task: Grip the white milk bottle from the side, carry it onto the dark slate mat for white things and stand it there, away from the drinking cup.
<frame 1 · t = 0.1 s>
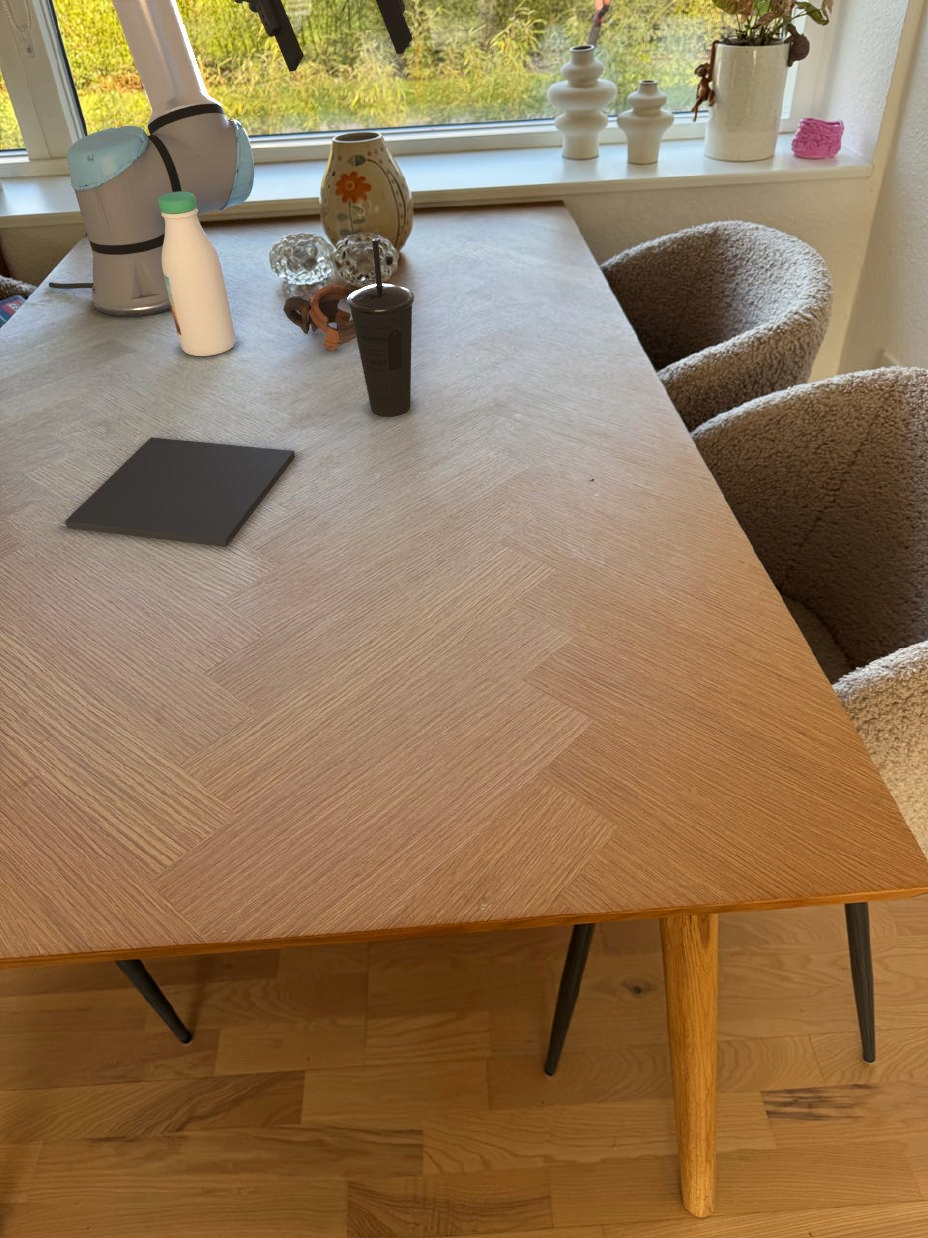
hand: (352, 55, 98), 36 cm above the table, tool tilted 35°, fingers open, 13 cm apart
slate mat: (186, 490, 100), on the table
drinking cup: (391, 408, 113), on the table
milk bottle: (209, 347, 130), on the table
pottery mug: (330, 339, 131), on the table
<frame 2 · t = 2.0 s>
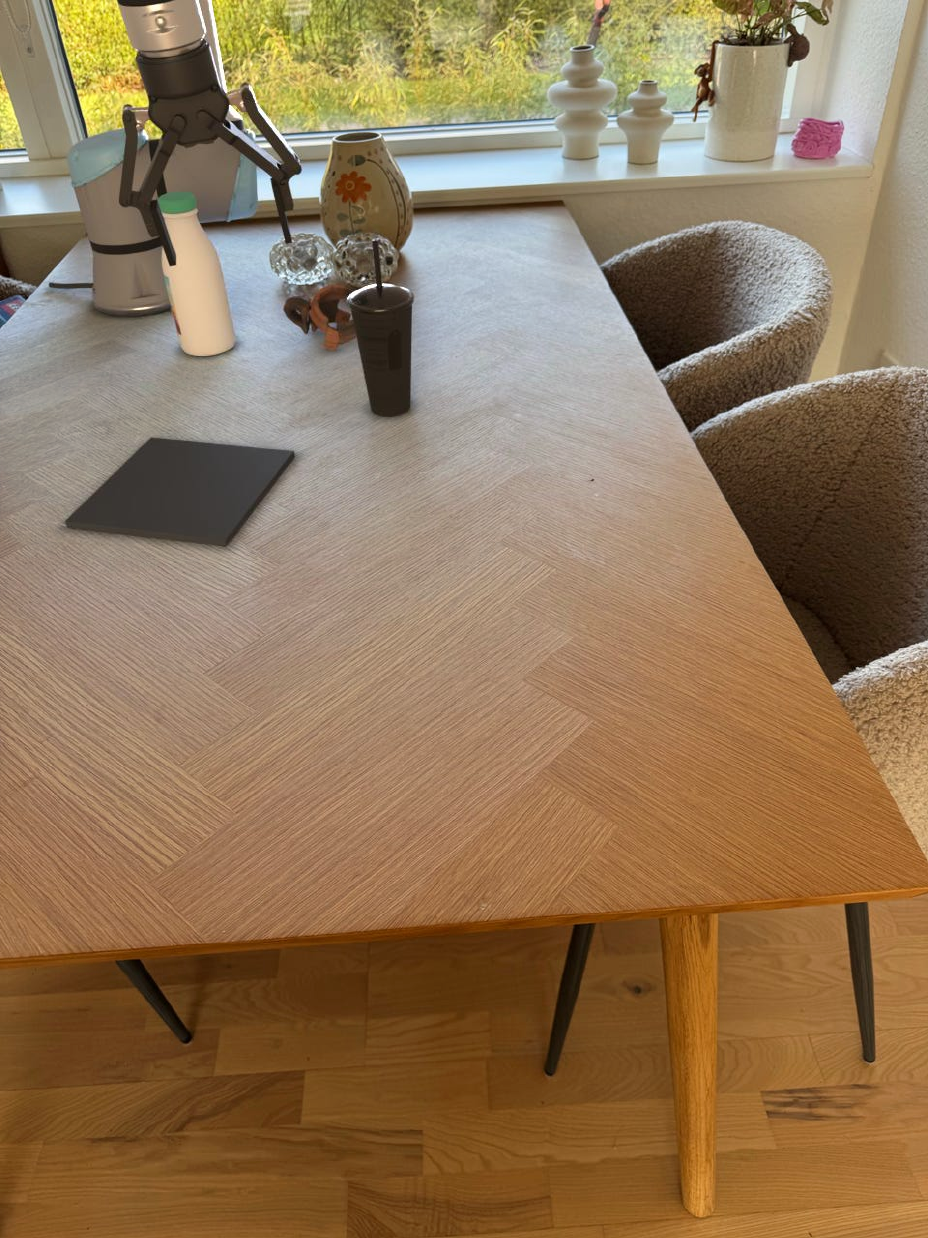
hand: (230, 249, 108), 17 cm above the table, tool pointing down, fingers open, 13 cm apart
nothing on the table moved.
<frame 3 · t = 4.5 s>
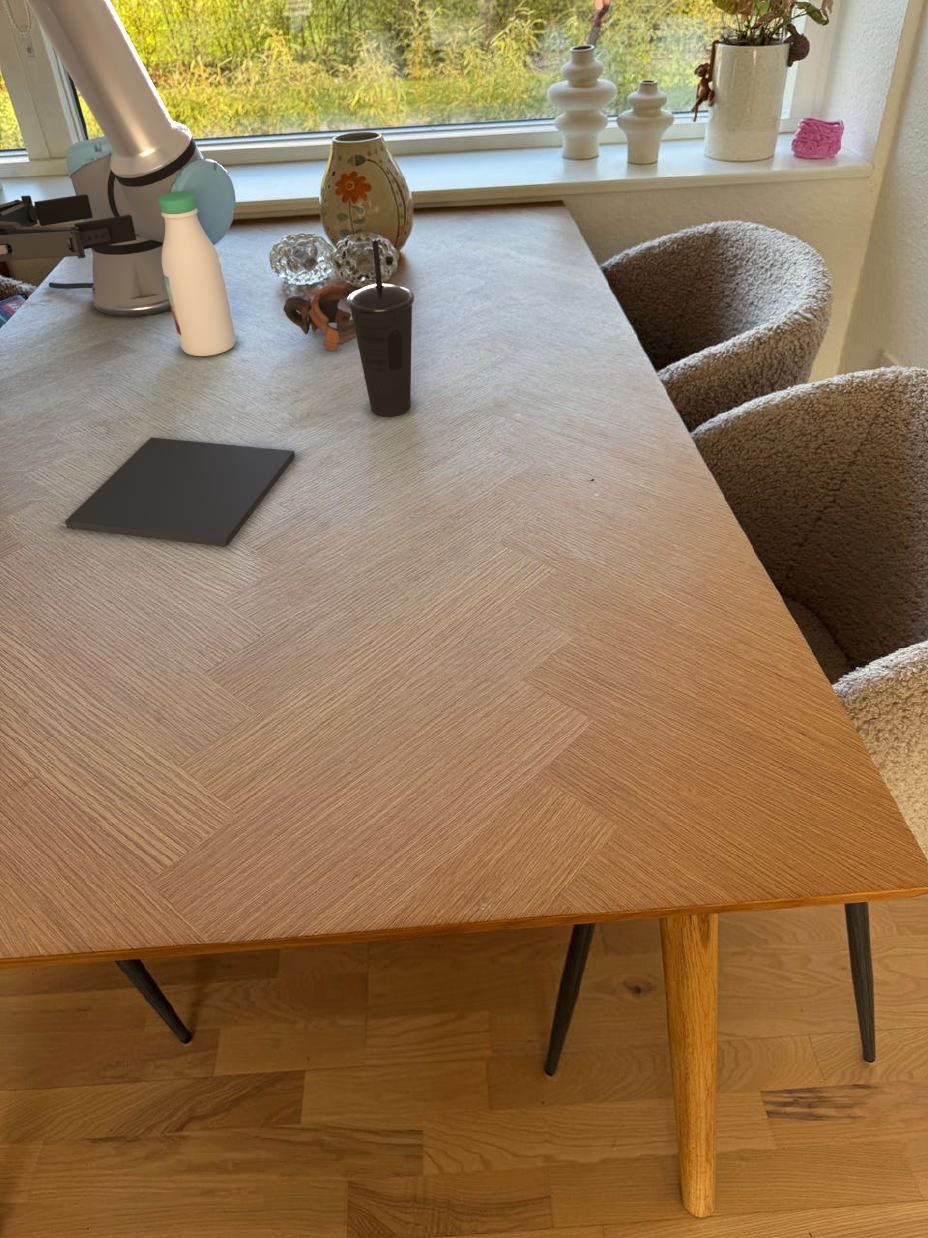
hand: (110, 216, 114), 19 cm above the table, tool horizontal, fingers open, 13 cm apart
nothing on the table moved.
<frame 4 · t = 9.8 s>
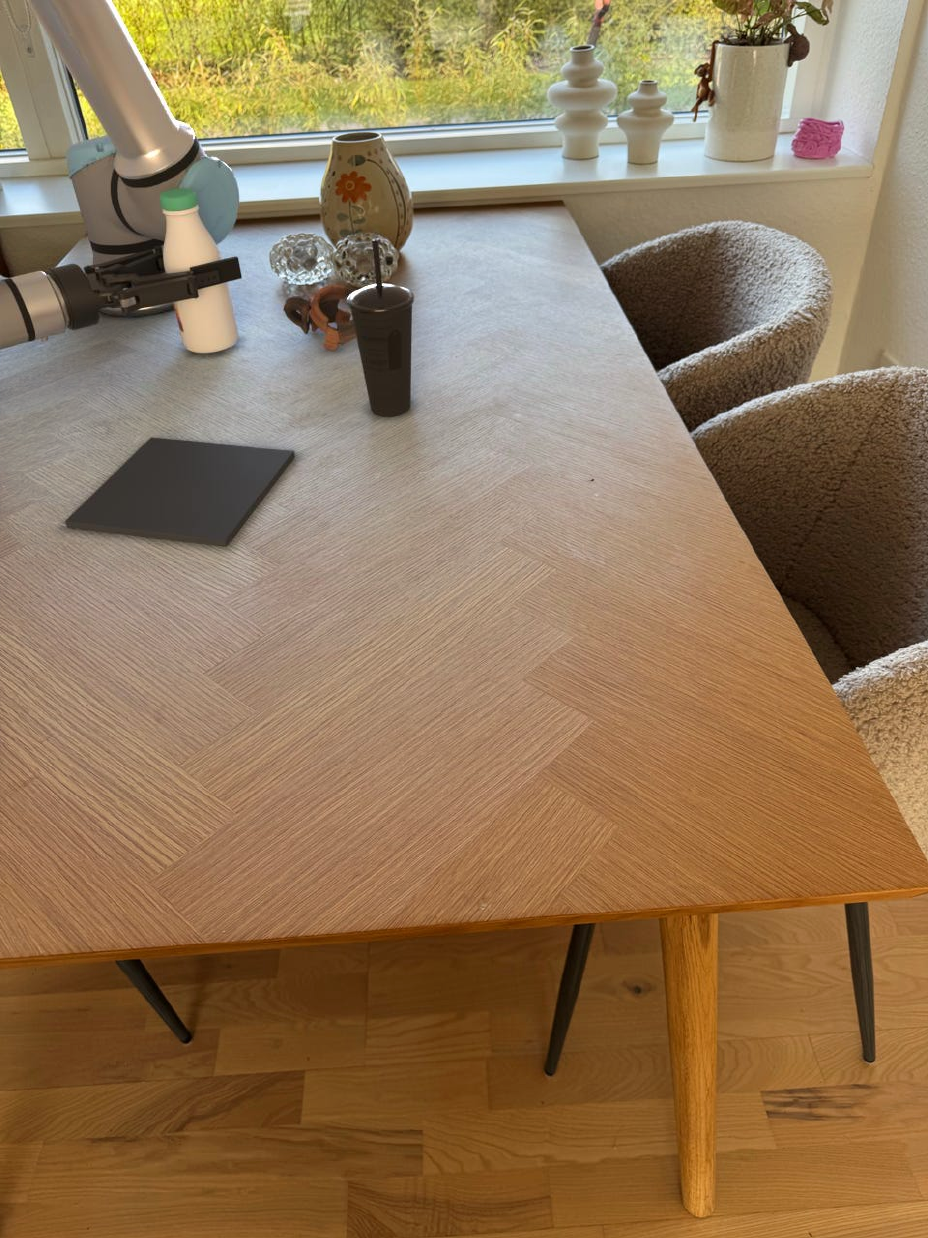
hand: (225, 259, 125), 11 cm above the table, tool horizontal, fingers closed on milk bottle, 8 cm apart
milk bottle: (212, 344, 130), on the table, touching gripper
everything else where it was.
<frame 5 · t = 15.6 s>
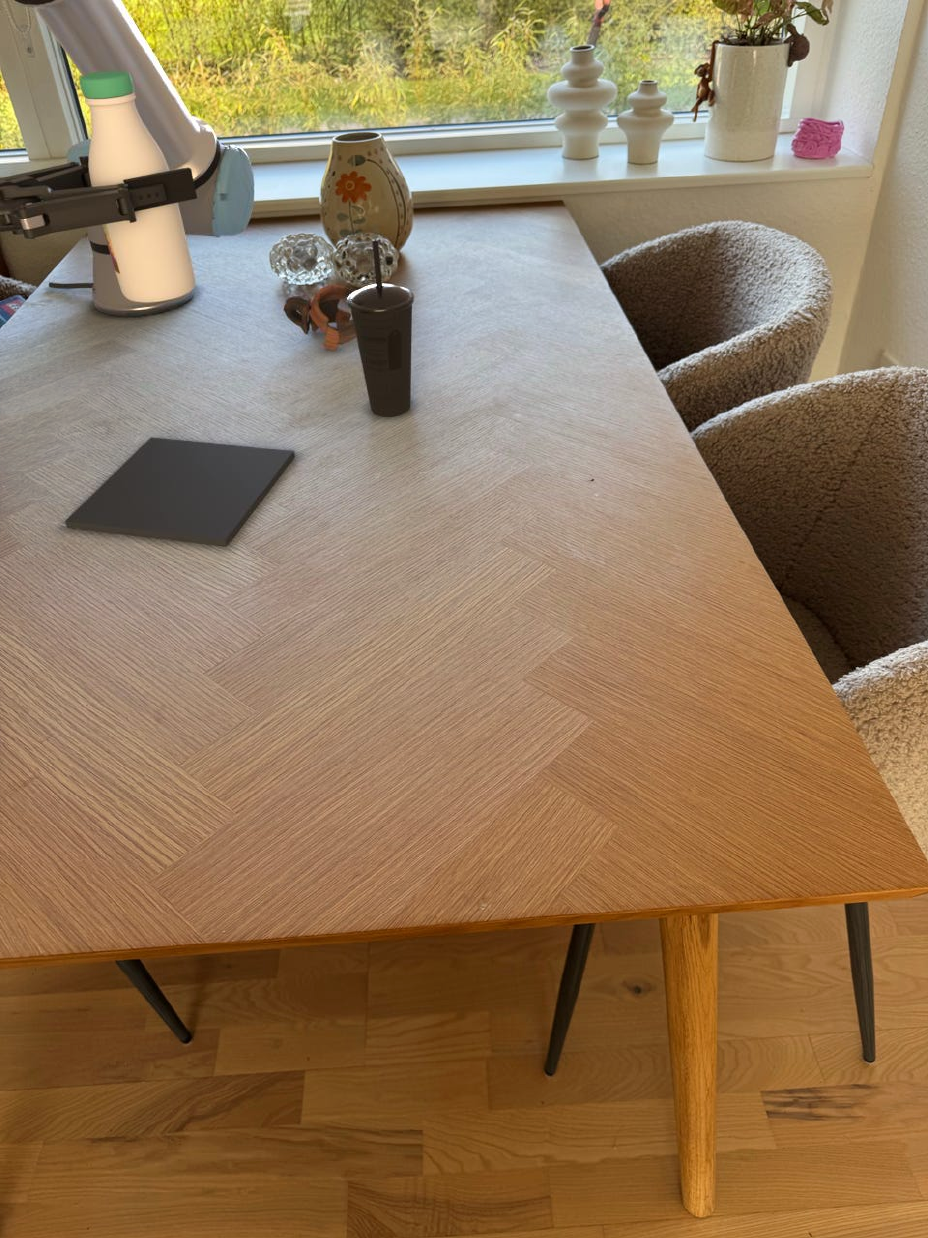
hand: (175, 174, 93), 28 cm above the table, tool horizontal, fingers closed on milk bottle, 8 cm apart
milk bottle: (160, 292, 97), point 17 cm above the table, touching gripper
everything else where it was.
when the fingers open (11 cm above the table, at t = 21.9 s): milk bottle stays where it is, resting on slate mat.
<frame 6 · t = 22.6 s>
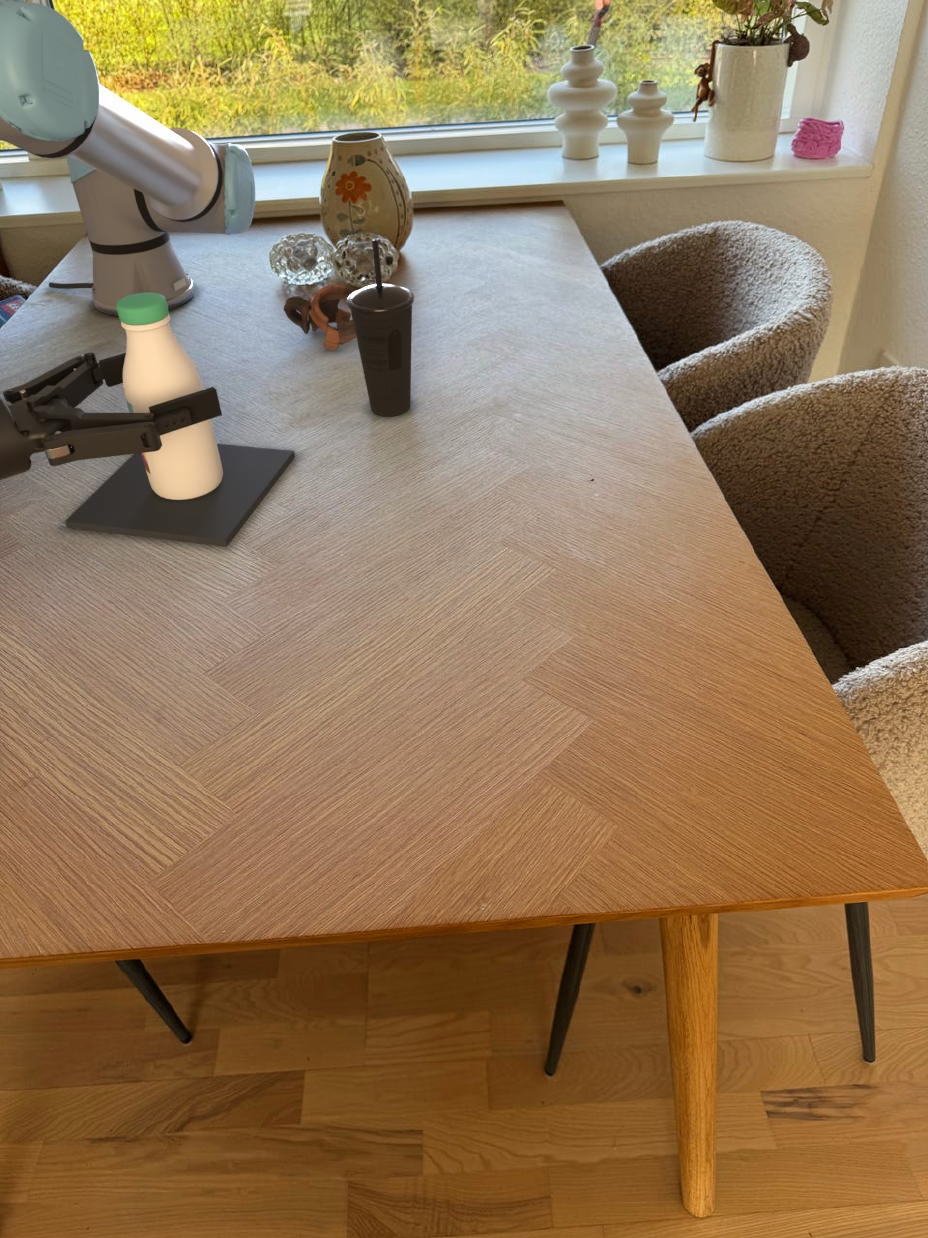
hand: (189, 377, 94), 12 cm above the table, tool horizontal, fingers open, 13 cm apart
milk bottle: (188, 484, 100), point 1 cm above the table, touching slate mat
everything else where it was.
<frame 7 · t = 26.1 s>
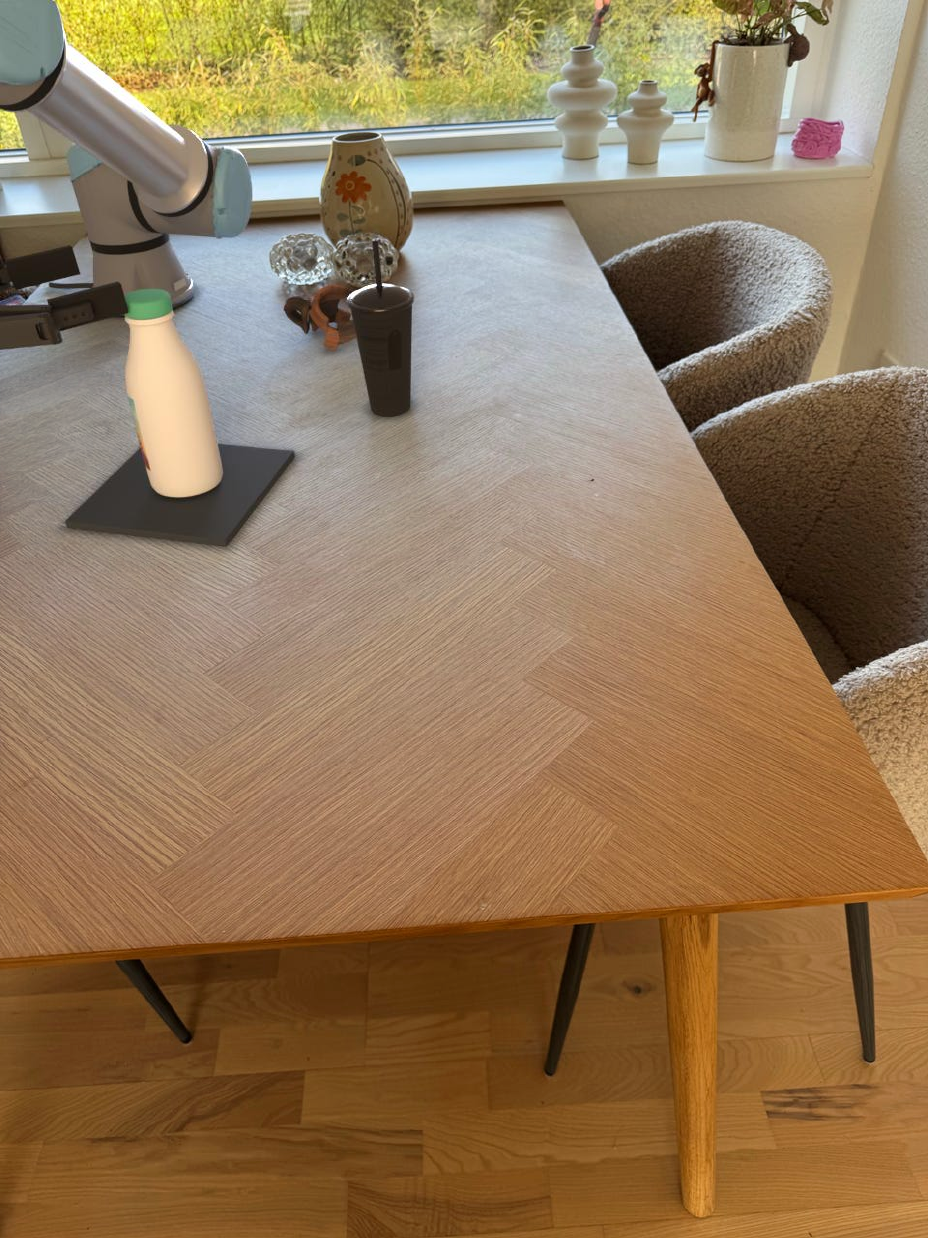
hand: (98, 277, 89), 22 cm above the table, tool horizontal, fingers open, 13 cm apart
nothing on the table moved.
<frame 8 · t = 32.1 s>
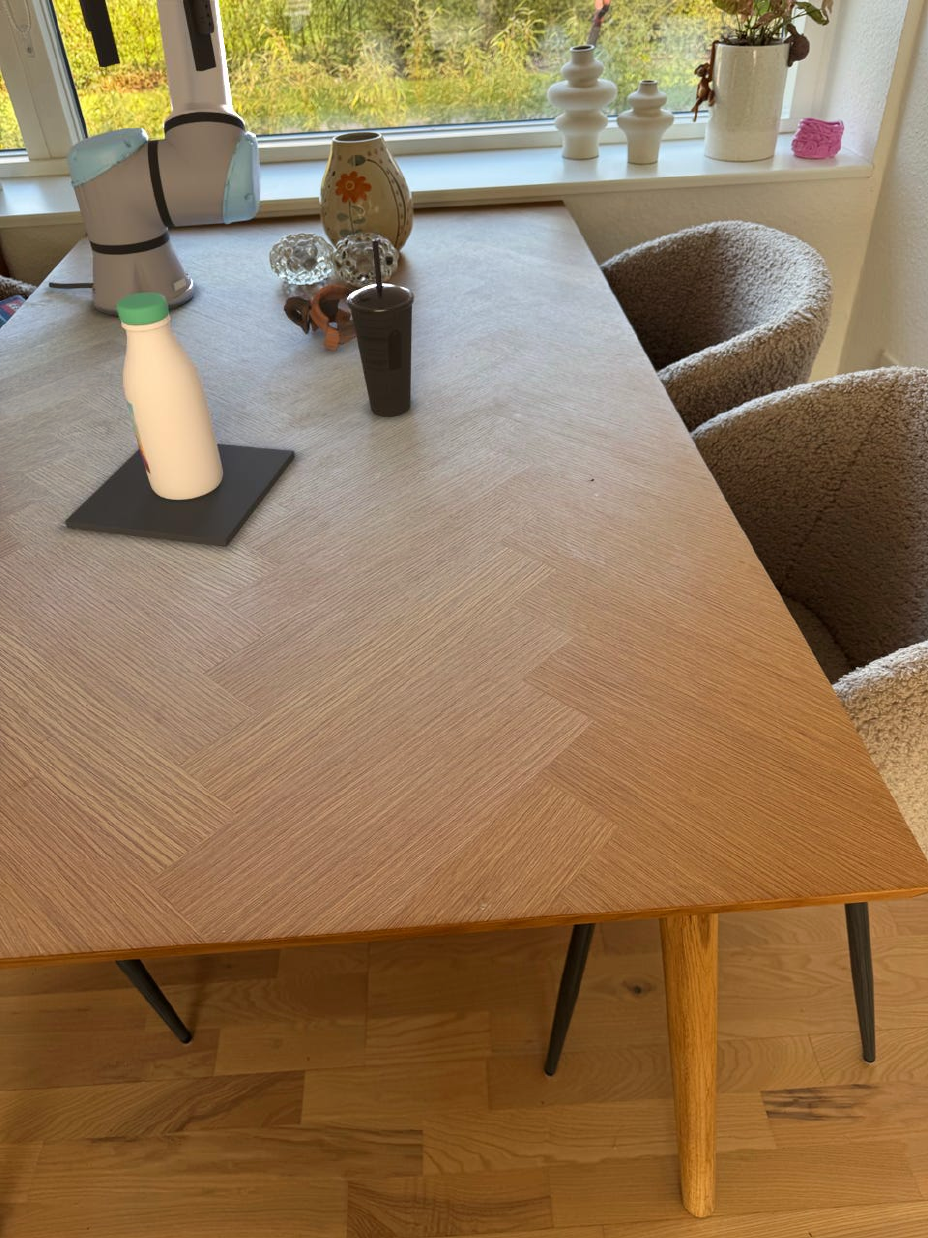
hand: (157, 67, 104), 35 cm above the table, tool pointing down, fingers open, 13 cm apart
nothing on the table moved.
at the end: milk bottle inside the target area on the slate mat (0.4 cm from its centre), point 0.6 cm above the slate mat's base; milk bottle tilted 0°; the gripper is holding nothing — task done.
